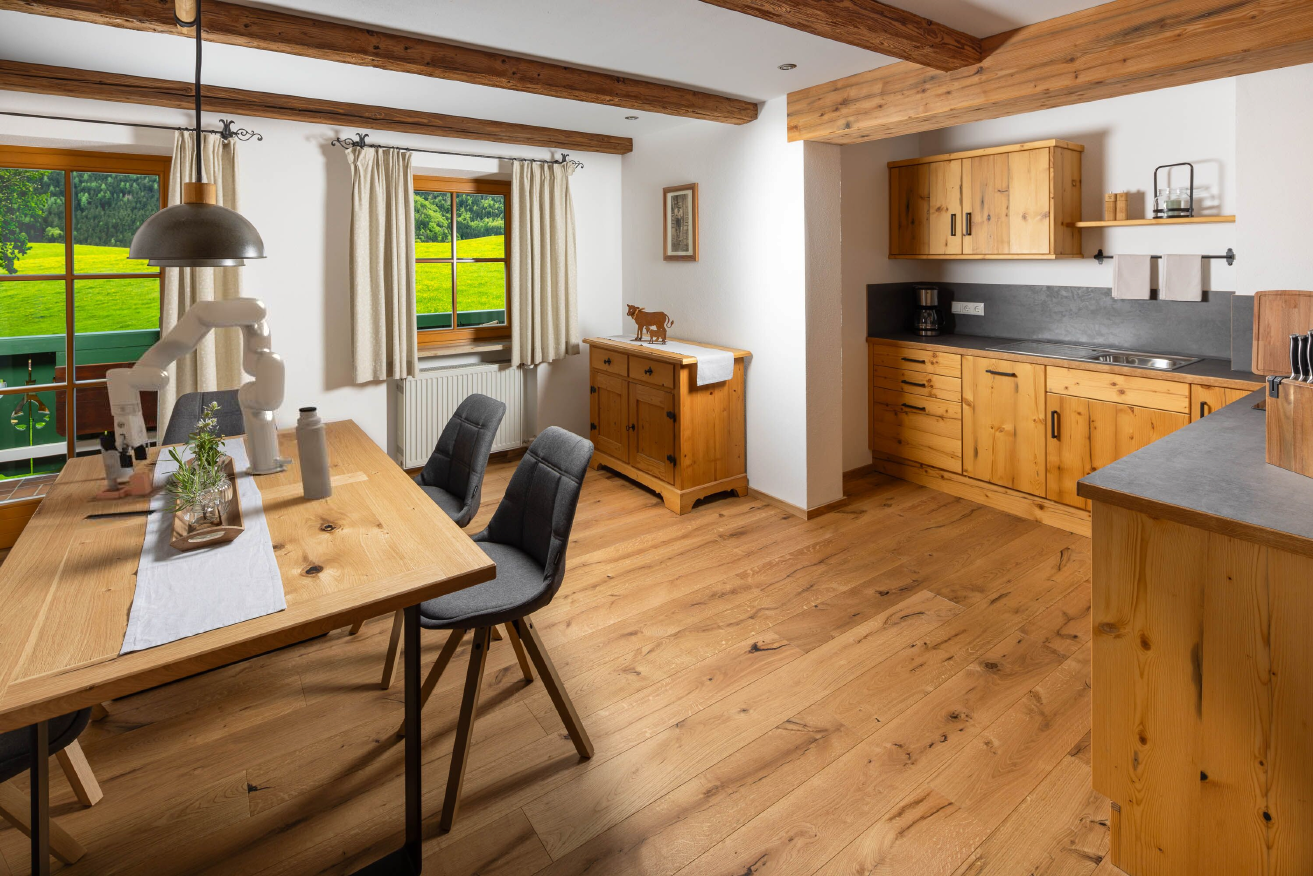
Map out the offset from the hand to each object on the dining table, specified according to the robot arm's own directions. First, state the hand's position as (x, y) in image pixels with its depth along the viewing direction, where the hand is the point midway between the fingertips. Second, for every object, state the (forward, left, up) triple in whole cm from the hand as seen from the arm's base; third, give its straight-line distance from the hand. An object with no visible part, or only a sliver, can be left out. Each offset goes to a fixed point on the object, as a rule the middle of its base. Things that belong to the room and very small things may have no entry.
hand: (134, 463), depth 227 cm
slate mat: (-2, +14, -11) cm, 18 cm away
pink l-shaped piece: (+4, 0, -10) cm, 10 cm away
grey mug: (+14, -28, -11) cm, 34 cm away
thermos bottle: (-54, +13, -11) cm, 57 cm away
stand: (+3, 0, -11) cm, 11 cm away
